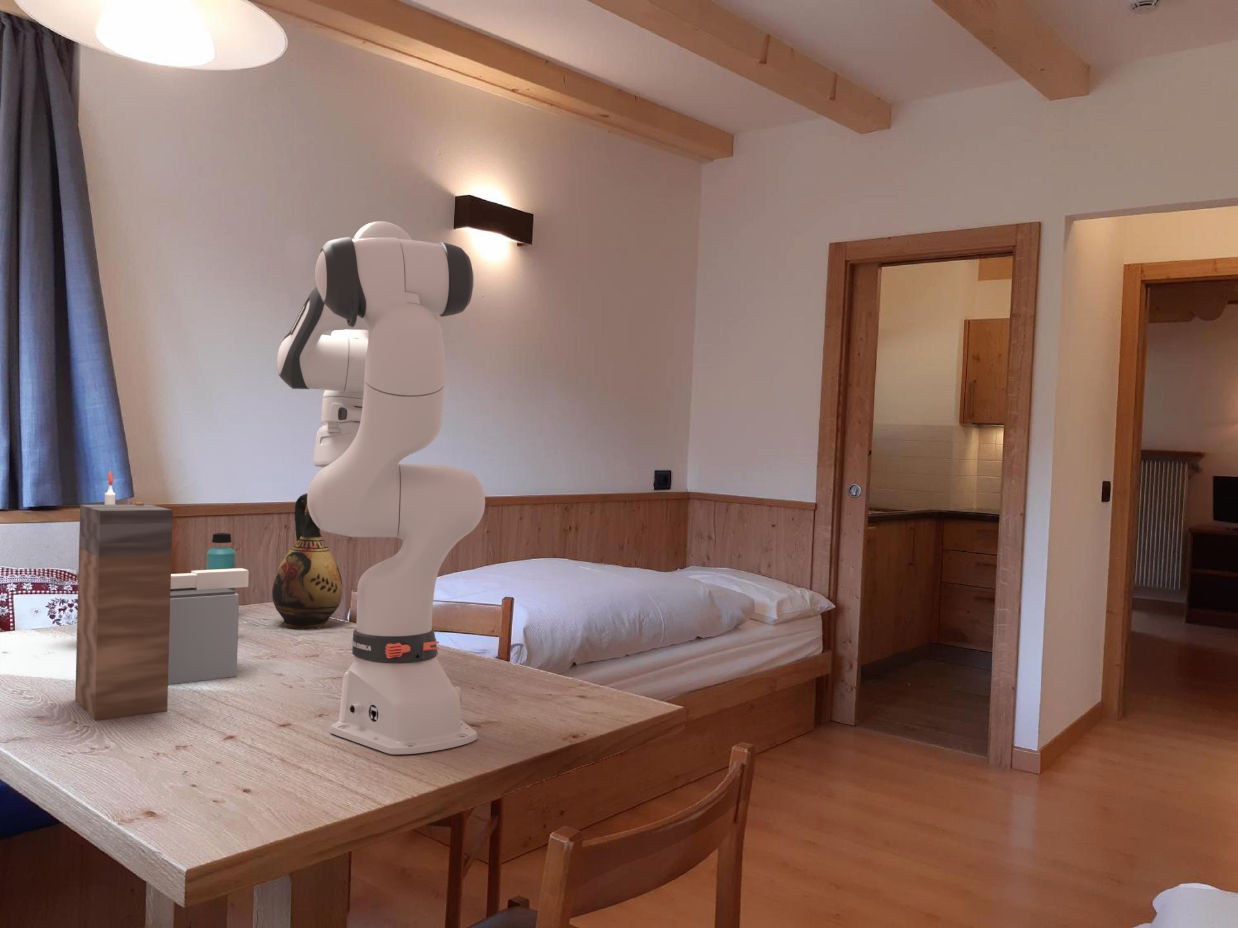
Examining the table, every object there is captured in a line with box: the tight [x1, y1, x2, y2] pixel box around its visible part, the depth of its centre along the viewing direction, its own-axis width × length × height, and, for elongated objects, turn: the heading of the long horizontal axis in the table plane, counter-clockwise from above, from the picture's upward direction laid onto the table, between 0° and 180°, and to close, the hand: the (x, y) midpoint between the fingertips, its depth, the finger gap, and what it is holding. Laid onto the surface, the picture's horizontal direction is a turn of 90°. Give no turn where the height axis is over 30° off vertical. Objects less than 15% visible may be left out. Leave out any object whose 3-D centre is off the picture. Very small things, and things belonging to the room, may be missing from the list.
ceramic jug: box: [271, 492, 344, 630], centre depth 226 cm, size 17×15×30 cm
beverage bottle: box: [206, 532, 236, 591], centre depth 229 cm, size 6×7×20 cm
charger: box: [171, 567, 250, 590], centre depth 177 cm, size 4×16×3 cm, turn 129°
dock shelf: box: [168, 588, 240, 685], centre depth 175 cm, size 14×16×15 cm
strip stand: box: [74, 502, 174, 721], centre depth 154 cm, size 14×10×31 cm
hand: (340, 490), depth 182 cm, fingers open, 8 cm apart
